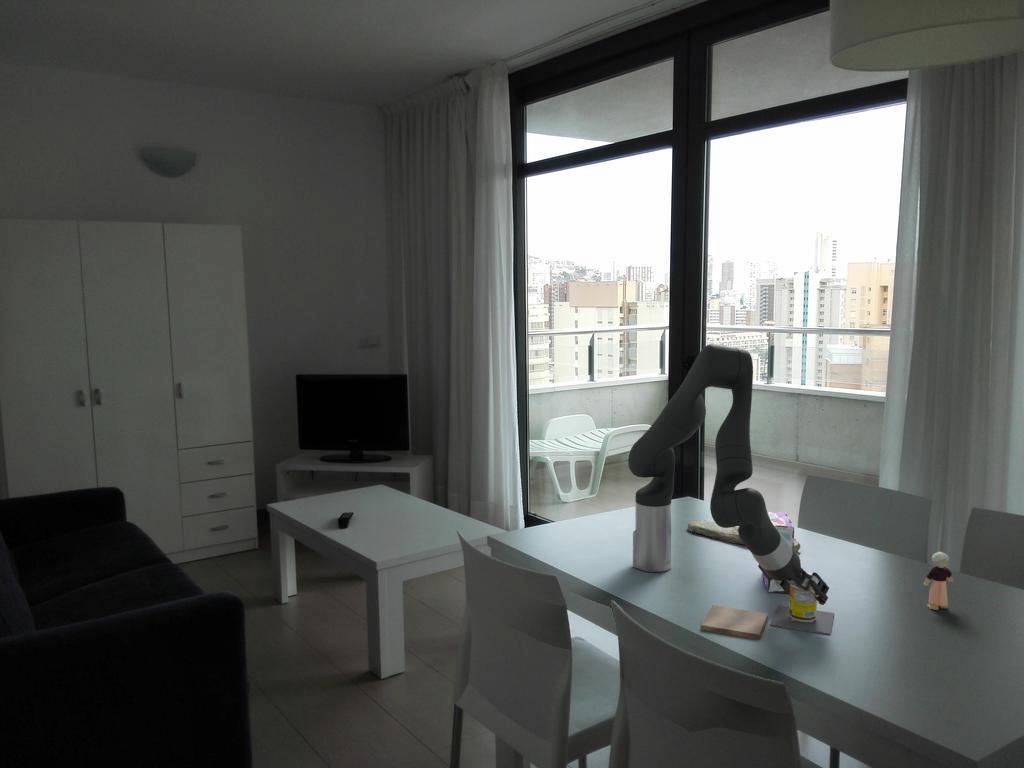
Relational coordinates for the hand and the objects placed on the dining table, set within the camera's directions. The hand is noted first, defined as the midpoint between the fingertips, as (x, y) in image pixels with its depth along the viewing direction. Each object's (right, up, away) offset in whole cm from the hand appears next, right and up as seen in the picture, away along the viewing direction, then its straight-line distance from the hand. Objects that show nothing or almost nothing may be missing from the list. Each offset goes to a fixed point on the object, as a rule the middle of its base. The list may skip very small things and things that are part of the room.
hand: (806, 595), depth 172 cm
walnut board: (-16, -6, -2) cm, 17 cm away
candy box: (+1, -3, +22) cm, 22 cm away
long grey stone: (+2, 0, +58) cm, 58 cm away
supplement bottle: (-1, -5, 0) cm, 5 cm away
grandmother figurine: (+32, -4, +6) cm, 33 cm away
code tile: (-1, -5, 0) cm, 5 cm away
